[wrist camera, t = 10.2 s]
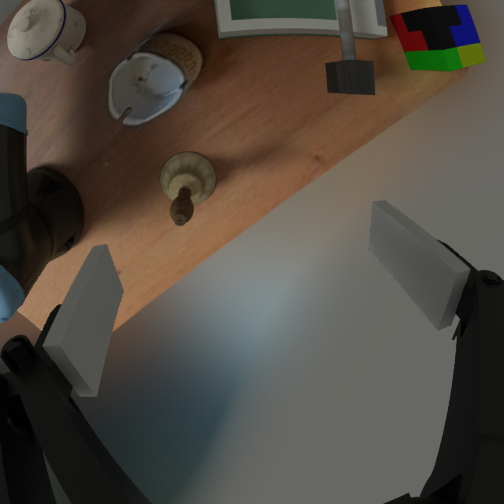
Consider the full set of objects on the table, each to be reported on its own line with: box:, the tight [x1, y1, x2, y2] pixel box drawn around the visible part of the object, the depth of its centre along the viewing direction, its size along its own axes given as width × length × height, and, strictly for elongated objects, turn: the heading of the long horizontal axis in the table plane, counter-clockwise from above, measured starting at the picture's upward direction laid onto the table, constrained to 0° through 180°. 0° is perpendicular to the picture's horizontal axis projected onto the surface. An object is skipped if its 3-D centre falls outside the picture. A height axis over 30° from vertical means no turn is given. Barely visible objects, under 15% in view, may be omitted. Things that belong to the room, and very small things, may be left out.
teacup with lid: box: [7, 0, 86, 65], centre depth 25 cm, size 12×9×12 cm
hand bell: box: [160, 152, 216, 226], centre depth 37 cm, size 8×8×16 cm
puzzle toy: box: [390, 5, 486, 72], centre depth 32 cm, size 10×10×10 cm
